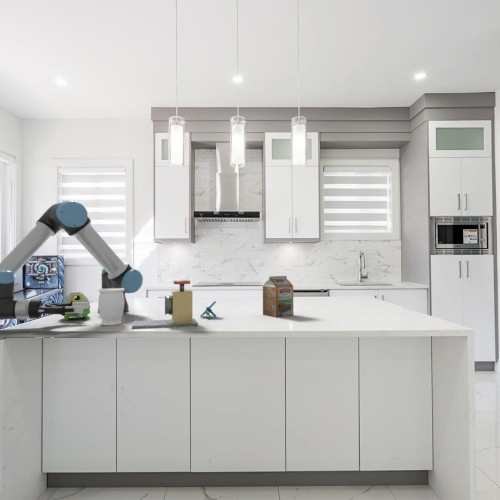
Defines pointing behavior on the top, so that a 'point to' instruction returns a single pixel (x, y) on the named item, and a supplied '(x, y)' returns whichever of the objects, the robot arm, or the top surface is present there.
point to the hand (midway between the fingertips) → (86, 307)
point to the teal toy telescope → (209, 311)
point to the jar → (111, 305)
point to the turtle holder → (79, 298)
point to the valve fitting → (173, 310)
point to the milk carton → (278, 297)
